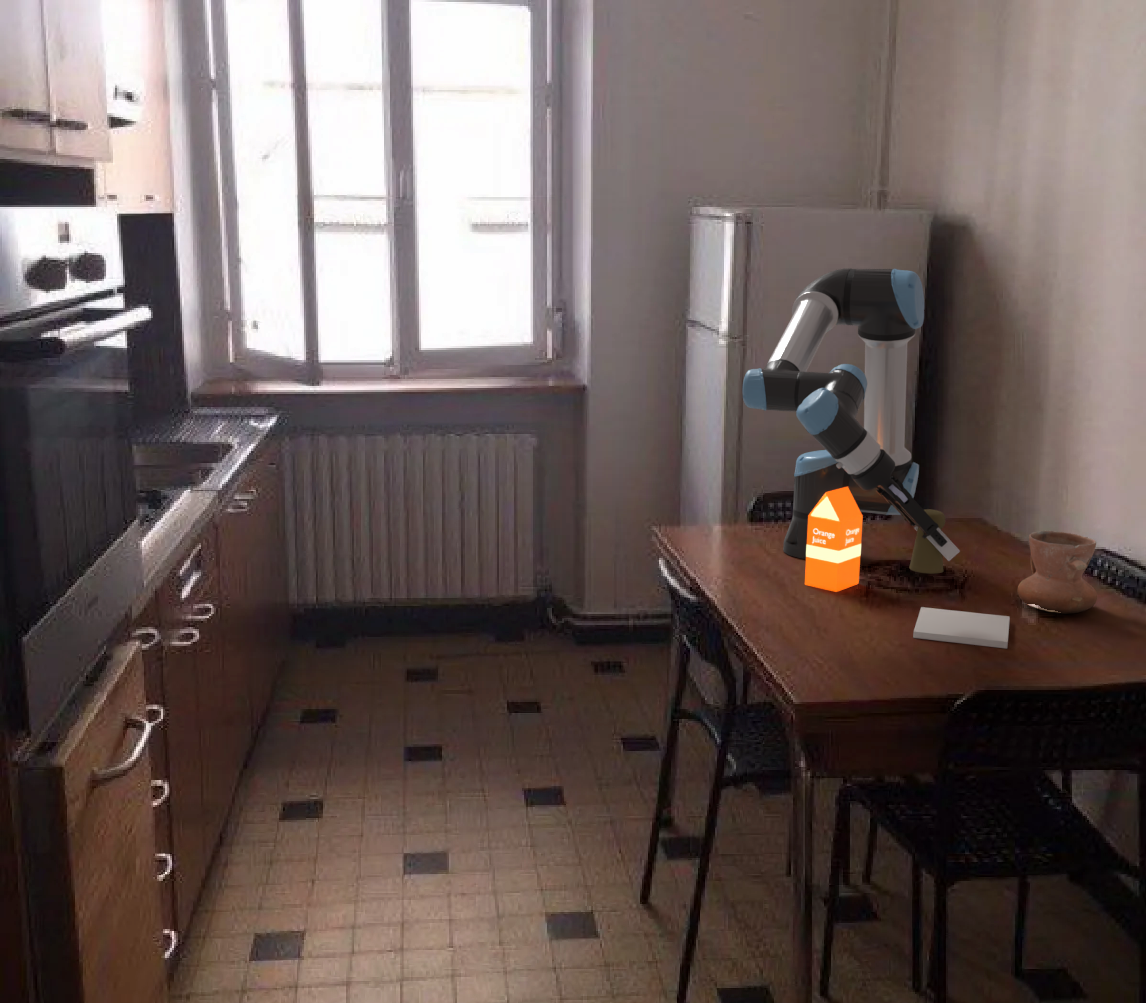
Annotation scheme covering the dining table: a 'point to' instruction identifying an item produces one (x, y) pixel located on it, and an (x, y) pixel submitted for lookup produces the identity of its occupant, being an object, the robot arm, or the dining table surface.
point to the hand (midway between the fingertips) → (947, 551)
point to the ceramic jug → (1059, 572)
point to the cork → (927, 549)
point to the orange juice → (834, 542)
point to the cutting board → (962, 627)
